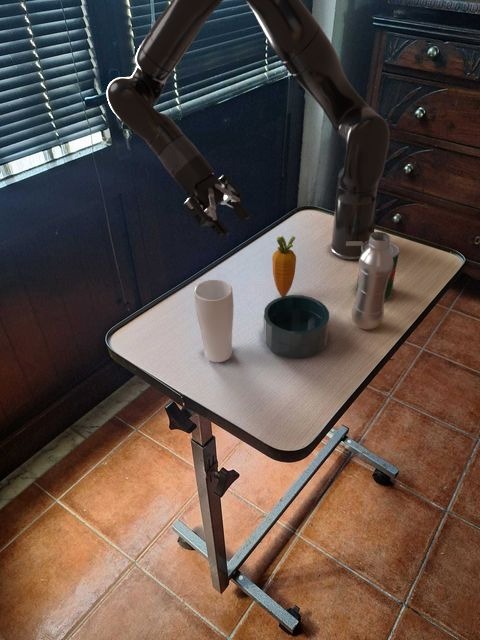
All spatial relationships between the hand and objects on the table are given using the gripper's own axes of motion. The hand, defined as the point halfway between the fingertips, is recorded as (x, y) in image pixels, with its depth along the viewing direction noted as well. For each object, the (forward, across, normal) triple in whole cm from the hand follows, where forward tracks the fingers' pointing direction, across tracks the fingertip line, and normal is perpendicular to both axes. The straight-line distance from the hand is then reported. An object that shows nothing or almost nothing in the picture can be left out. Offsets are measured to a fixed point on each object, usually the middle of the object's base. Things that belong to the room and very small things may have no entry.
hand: (236, 227), depth 109 cm
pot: (+24, -12, -4) cm, 27 cm away
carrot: (+18, 0, +2) cm, 18 cm away
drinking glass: (+16, -23, +4) cm, 29 cm away
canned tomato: (+30, +11, -10) cm, 34 cm away
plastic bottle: (+32, -1, -12) cm, 34 cm away
